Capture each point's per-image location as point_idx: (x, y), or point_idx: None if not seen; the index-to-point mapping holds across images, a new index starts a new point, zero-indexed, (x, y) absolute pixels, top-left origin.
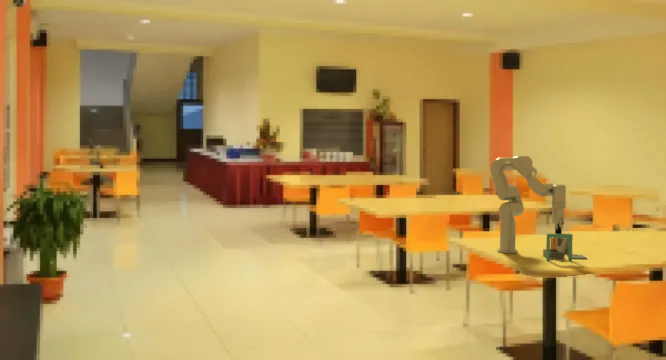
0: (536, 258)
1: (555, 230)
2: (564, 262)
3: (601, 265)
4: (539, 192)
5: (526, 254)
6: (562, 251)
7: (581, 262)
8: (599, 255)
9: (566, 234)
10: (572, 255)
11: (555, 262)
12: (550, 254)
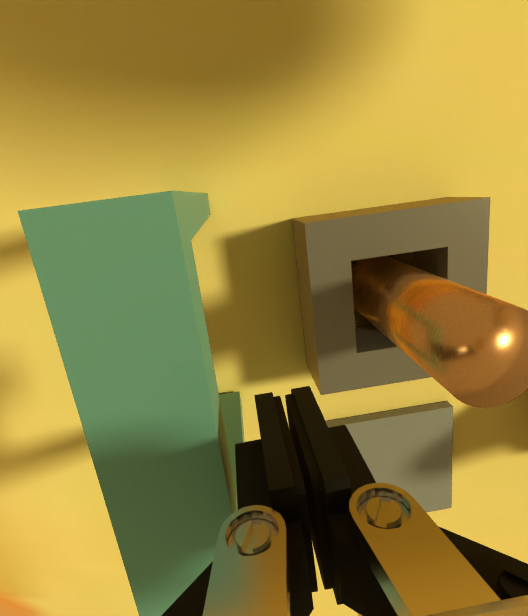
0: (294, 103)
1: (315, 461)
2: None
3: (82, 585)
4: None
5: (521, 21)
6: (367, 381)
7: None
8: None
9: (139, 607)
10: (418, 442)
11: None
12: (302, 252)
